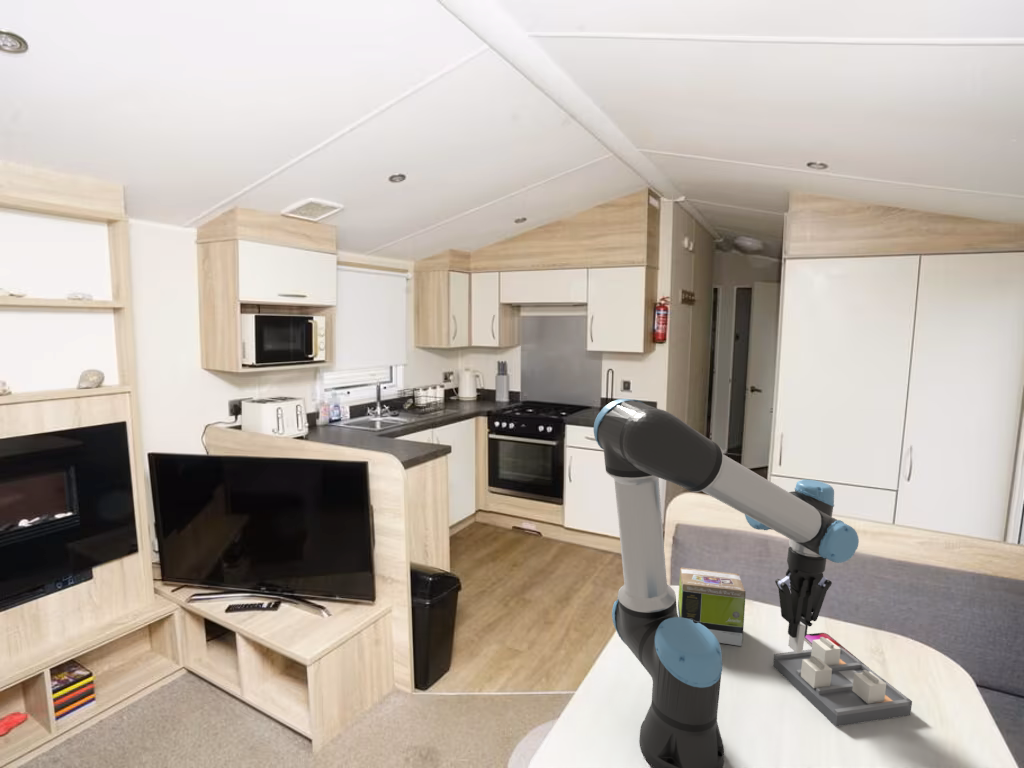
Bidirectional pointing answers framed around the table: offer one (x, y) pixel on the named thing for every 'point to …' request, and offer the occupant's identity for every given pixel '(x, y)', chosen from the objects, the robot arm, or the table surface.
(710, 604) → the tea box
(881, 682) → the tab
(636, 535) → the robot arm
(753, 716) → the table surface
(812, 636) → the smartphone
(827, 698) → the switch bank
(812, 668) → the tab
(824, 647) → the tab
